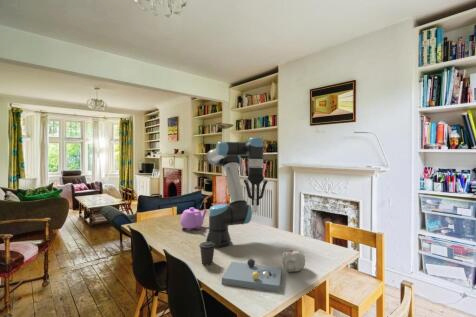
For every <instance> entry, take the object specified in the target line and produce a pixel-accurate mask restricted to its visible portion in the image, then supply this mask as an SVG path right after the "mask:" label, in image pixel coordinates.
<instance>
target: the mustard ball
mask: <svg viewBox="0 0 476 317" xmlns="http://www.w3.org/2000/svg"><path fill="white" fill-rule="evenodd" d="M252 278H253V279H254V280H257V279H258V278H259V274H258V272H253V274H252Z"/></svg>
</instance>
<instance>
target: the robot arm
mask: <svg viewBox="0 0 476 317" xmlns="http://www.w3.org/2000/svg"><path fill="white" fill-rule="evenodd" d="M215 146H216V148H214V149H210V150H209V151H207V153H206V156H205V158H206V159H205V160H206V161H207V162H208V163H209V164H210V165H212V166H214V167H222V169H223V170H224V171H225V175H226V181H227V187H228V193H229V199H230V202H229V204H227V203H216V204H214V205H212V206H210V208H209V209H208V210H209V211H208V212H209V213H208V217H209V218H208V221H209V222H208V233H207V236H206V239H205V242H213V243H215V247H214V248H216V249H217V248H225V247H228V246H230V245H231V243H232V241H231V240H232V239H231V235H230V232H229V226H236V225H246V224H249V223H250V222H251V220H252V215H253V213H257V212H258V206H259V205H260V199H263V196H264V193H265V189H266V186H267V185H268V184H267V183H268V180H267V179H265V178H264V168H263V167H264V139H263V138H261V137H249V139H248V141H247V142H245V141H244V142H243V141H225V140H224V141H218V142H217V143H216V145H215ZM241 156H243V157H246V156H247V157H248V166H249V168H248V176H247V178H245V179H243V183H244V185H245V188H246V193H247V198H249V199H250V200H251V205H250V204H248V202H247V200H245V198H244V193H243V188H242V184H241V178H240V174H239V168H240V165H241V164H242V158H241ZM249 183H250V184H251V189H250V184H249ZM261 183H262V188H261V187H260V186H261V185H260V184H261ZM255 186H256V187H255ZM255 188H256V189H255ZM260 188H261V191H260ZM255 191H256V192H255ZM255 193H256V194H255ZM255 195H256V196H255ZM255 197H256V198H255ZM252 206H253V207H252ZM252 208H253V210H252Z"/></svg>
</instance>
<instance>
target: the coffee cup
mask: <svg viewBox="0 0 476 317" xmlns="http://www.w3.org/2000/svg"><path fill="white" fill-rule="evenodd" d="M198 246H199V249H200V256H201V257H200V258H201V264H202V265H204V266H210V265H213V262H214V253H215V248H216V247H215V243H213V242H206V241H204V242H203V241H202V242H200V243H199V245H198Z"/></svg>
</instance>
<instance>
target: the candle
mask: <svg viewBox="0 0 476 317" xmlns="http://www.w3.org/2000/svg"><path fill="white" fill-rule="evenodd" d="M281 263H282V265H283V267H284V269H285V271H286V272H287V273H293V272H298V271H301V270H302V269H303V268H304V267H305V266H306V257H305V255H304V254H303V253H302V251H297V250H289V251H288V252H287V251H284V252H283V255H282V257H281Z"/></svg>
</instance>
